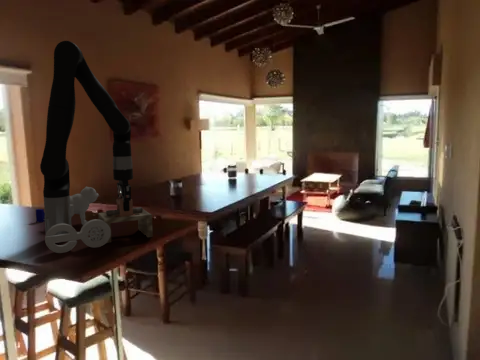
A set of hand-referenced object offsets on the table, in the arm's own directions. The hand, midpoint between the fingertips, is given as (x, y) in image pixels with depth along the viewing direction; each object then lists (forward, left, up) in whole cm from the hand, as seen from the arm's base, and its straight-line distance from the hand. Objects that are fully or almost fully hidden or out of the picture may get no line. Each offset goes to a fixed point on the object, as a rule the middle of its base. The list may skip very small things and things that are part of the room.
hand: (124, 209), depth 164 cm
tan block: (0, 0, -2) cm, 2 cm away
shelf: (0, 0, -11) cm, 11 cm away
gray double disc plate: (-19, -10, -11) cm, 24 cm away
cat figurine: (-16, +30, -11) cm, 36 cm away
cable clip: (-27, +50, -11) cm, 58 cm away
